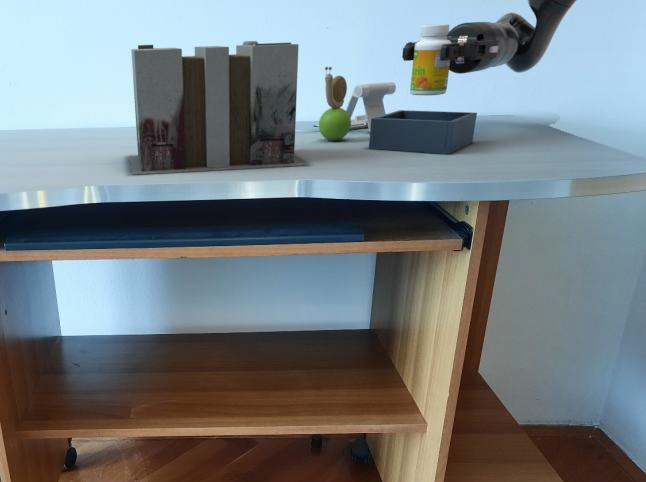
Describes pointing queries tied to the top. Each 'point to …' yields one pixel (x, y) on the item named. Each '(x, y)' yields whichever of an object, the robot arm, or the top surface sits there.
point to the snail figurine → (335, 109)
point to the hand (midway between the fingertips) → (424, 52)
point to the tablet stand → (369, 102)
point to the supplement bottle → (430, 62)
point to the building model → (215, 108)
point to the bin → (422, 131)
